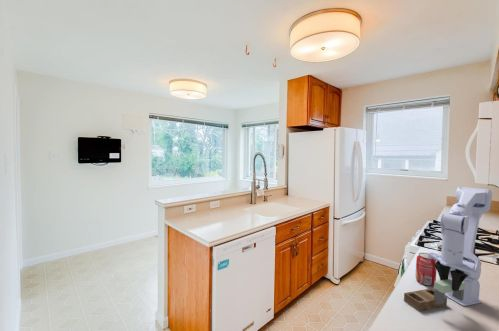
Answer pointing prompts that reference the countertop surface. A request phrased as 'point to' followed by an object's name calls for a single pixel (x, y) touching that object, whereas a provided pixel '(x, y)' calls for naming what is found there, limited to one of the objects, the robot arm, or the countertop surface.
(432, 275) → the soda can
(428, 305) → the post base
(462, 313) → the countertop surface
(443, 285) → the green toy bench
